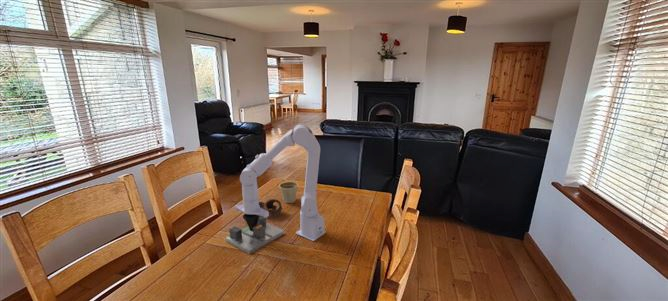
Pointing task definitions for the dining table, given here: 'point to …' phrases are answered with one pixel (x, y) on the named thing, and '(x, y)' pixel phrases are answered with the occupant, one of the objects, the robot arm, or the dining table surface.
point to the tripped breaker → (259, 231)
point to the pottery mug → (271, 207)
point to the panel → (248, 240)
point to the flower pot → (288, 191)
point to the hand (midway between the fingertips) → (253, 230)
